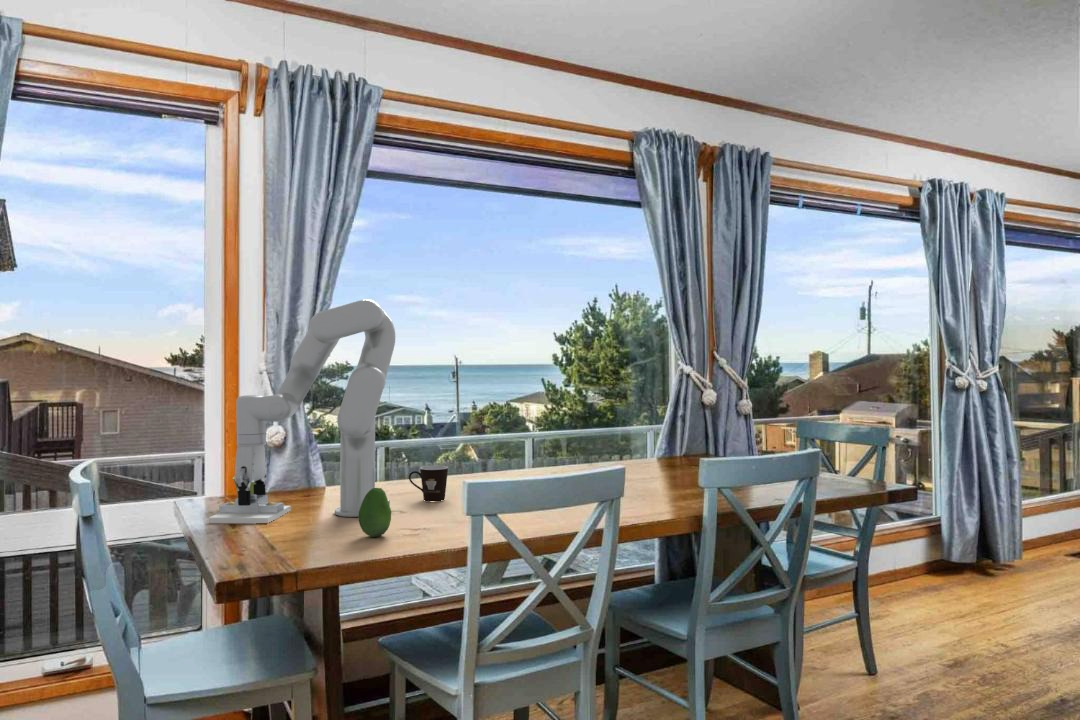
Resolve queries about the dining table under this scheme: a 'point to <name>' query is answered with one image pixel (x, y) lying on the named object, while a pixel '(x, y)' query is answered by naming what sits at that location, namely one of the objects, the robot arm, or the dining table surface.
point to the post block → (247, 516)
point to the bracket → (252, 506)
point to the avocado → (375, 513)
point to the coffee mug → (432, 482)
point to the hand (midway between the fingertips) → (252, 501)
